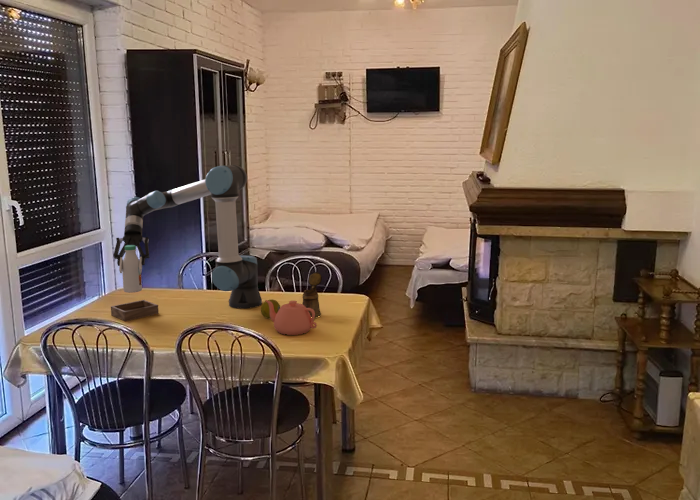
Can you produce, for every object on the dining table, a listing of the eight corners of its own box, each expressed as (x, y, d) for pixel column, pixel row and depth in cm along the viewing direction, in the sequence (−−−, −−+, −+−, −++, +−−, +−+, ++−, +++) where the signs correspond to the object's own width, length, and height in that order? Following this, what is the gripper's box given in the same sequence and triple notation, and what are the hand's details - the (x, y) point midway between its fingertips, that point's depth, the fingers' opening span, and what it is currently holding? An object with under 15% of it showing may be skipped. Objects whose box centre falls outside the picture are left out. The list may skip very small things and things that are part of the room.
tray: (158, 313, 279) (158, 305, 279) (125, 321, 268) (124, 312, 268) (144, 308, 288) (143, 299, 287) (111, 315, 277) (110, 306, 276)
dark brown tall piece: (326, 311, 285) (326, 272, 281) (317, 319, 272) (316, 278, 269) (308, 309, 287) (307, 270, 284) (297, 317, 274) (297, 277, 271)
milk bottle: (136, 293, 272) (133, 247, 268) (119, 292, 273) (117, 246, 270) (145, 289, 279) (143, 244, 276) (129, 288, 281) (126, 243, 277)
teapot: (257, 334, 252) (257, 303, 250) (273, 323, 267) (272, 294, 265) (310, 339, 246) (310, 308, 244) (322, 327, 261) (322, 298, 259)
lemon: (270, 322, 268) (270, 303, 266) (256, 319, 272) (255, 301, 270) (285, 316, 277) (285, 298, 276) (271, 313, 281) (271, 295, 279)
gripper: (157, 232, 289) (156, 275, 276) (111, 233, 285) (107, 276, 272) (156, 222, 283) (154, 265, 270) (108, 223, 279) (104, 267, 266)
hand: (130, 271), depth 271 cm, fingers closed on milk bottle, 7 cm apart
